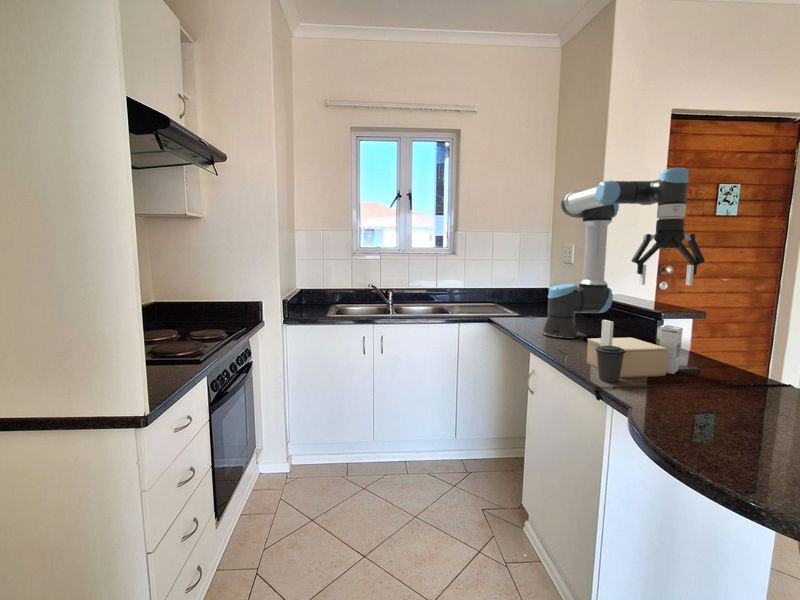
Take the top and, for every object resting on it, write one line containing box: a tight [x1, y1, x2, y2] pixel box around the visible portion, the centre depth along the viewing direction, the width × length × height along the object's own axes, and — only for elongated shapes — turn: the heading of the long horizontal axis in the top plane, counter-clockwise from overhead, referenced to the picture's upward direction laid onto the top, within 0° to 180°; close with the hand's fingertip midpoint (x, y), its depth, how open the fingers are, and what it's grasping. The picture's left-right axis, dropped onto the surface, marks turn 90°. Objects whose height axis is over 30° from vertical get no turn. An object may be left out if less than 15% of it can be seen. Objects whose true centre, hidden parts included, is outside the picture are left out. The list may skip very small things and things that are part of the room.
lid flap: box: [587, 319, 667, 351], centre depth 128 cm, size 15×17×9 cm
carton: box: [586, 340, 668, 379], centre depth 129 cm, size 16×16×8 cm
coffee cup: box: [595, 346, 625, 383], centre depth 118 cm, size 8×8×10 cm
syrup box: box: [655, 324, 684, 375], centre depth 127 cm, size 6×6×14 cm
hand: (665, 284), depth 130 cm, fingers open, 13 cm apart
